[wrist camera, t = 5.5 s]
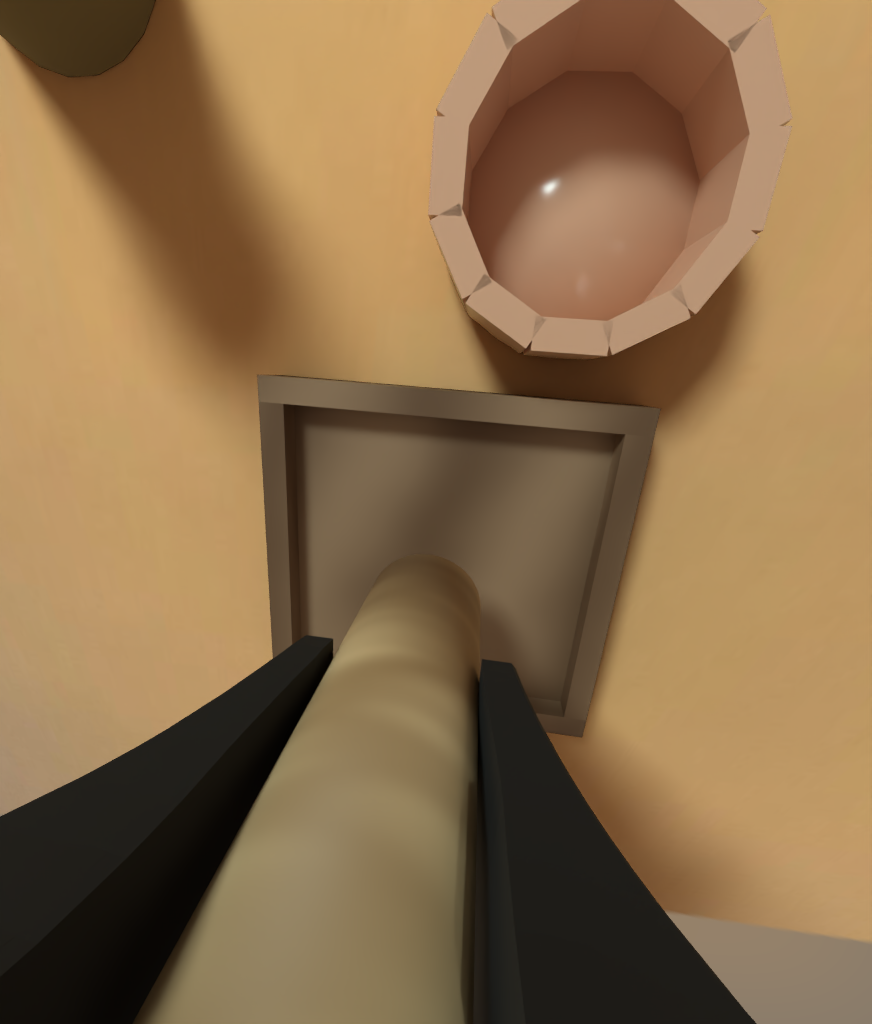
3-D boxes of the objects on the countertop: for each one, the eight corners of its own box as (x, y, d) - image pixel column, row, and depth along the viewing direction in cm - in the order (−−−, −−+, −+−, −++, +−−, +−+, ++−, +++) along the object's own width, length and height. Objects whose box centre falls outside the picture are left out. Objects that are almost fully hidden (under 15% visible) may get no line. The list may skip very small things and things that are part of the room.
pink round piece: (753, 50, 11) (844, -61, 8) (676, 367, 13) (726, 365, 10) (454, 46, 11) (444, -58, 9) (433, 349, 14) (420, 342, 11)
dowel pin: (488, 562, 11) (496, 1088, 3) (472, 660, 12) (446, 1265, 4) (374, 546, 12) (78, 989, 3) (368, 643, 13) (129, 1180, 4)
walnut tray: (640, 405, 13) (660, 408, 12) (573, 705, 17) (582, 737, 16) (281, 375, 14) (257, 374, 13) (292, 664, 18) (274, 690, 17)
